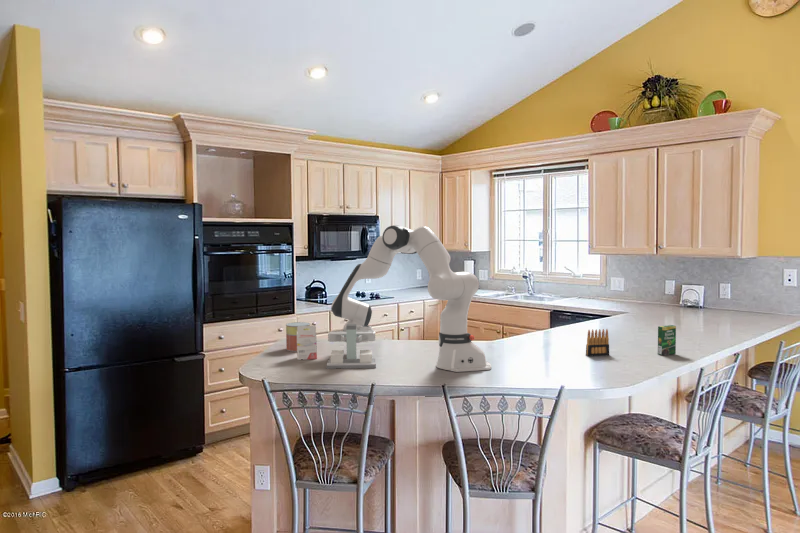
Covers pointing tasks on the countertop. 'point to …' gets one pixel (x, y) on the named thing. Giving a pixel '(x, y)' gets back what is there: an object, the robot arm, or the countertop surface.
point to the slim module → (351, 341)
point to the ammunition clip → (597, 343)
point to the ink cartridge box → (306, 342)
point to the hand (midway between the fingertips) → (351, 339)
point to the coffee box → (666, 340)
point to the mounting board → (351, 360)
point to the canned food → (293, 335)
